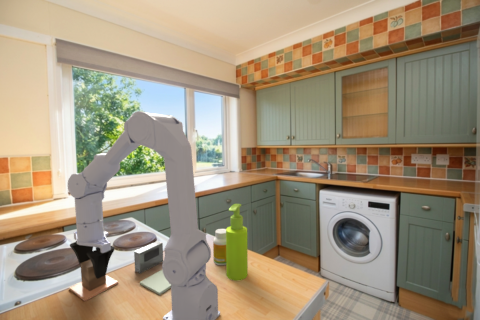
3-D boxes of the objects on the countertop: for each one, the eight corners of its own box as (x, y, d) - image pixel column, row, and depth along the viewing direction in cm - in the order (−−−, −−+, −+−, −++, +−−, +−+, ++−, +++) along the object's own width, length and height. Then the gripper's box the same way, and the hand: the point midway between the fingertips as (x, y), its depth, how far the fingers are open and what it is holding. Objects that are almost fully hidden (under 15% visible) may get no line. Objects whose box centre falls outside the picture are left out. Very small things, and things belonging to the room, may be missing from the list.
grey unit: (163, 261, 74) (163, 242, 73) (140, 273, 67) (139, 253, 67) (157, 259, 75) (156, 240, 75) (134, 270, 69) (133, 250, 68)
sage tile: (184, 278, 65) (184, 276, 65) (159, 295, 58) (159, 292, 58) (164, 270, 69) (164, 268, 69) (139, 284, 62) (139, 282, 62)
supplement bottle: (228, 266, 71) (228, 235, 70) (211, 264, 72) (210, 233, 71) (232, 257, 76) (232, 228, 75) (216, 256, 77) (216, 227, 76)
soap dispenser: (222, 280, 64) (221, 207, 62) (230, 267, 70) (230, 200, 69) (243, 284, 62) (242, 209, 60) (249, 270, 69) (249, 202, 67)
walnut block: (106, 283, 62) (104, 260, 61) (89, 291, 59) (88, 267, 58) (98, 278, 64) (97, 256, 64) (81, 285, 61) (80, 263, 60)
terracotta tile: (118, 283, 63) (117, 281, 63) (84, 301, 56) (84, 298, 56) (102, 274, 67) (101, 272, 67) (69, 289, 60) (69, 287, 60)
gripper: (121, 220, 59) (124, 272, 61) (92, 211, 67) (95, 257, 68) (91, 230, 53) (95, 287, 55) (63, 218, 61) (67, 268, 63)
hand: (93, 271), depth 61 cm, fingers open, 7 cm apart
